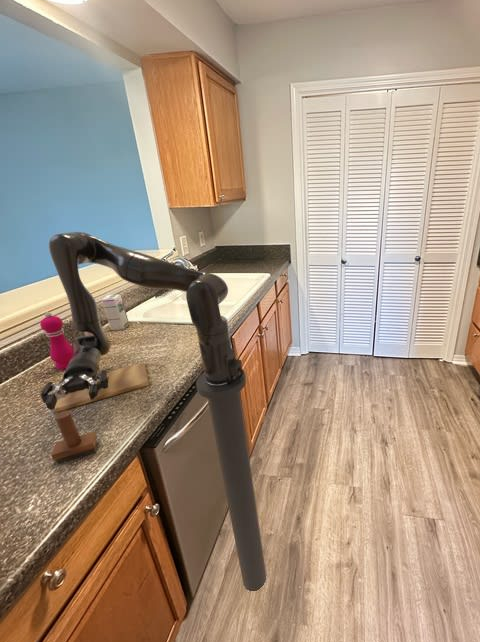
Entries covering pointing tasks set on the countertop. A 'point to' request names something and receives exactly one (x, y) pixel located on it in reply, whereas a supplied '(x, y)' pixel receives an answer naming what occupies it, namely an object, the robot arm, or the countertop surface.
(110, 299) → the syrup box
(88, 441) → the scrub brush
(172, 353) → the countertop surface
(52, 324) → the pepper mill
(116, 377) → the cutting board
